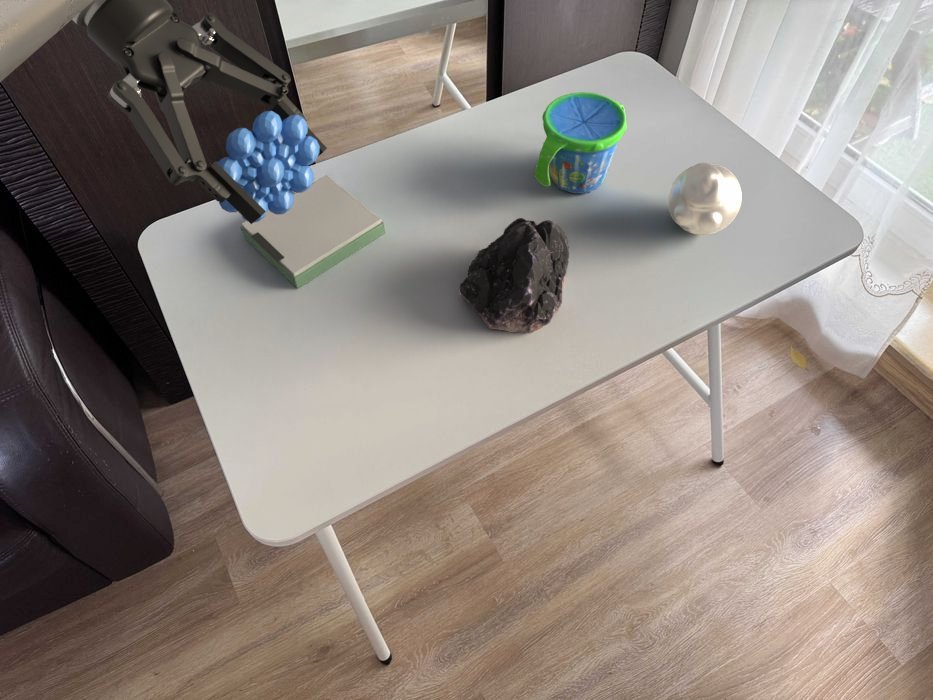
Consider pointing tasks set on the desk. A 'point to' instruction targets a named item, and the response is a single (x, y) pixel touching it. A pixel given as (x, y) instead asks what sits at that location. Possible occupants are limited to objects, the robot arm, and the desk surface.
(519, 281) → the dark rock
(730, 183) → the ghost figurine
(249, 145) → the grapes
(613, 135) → the snack cup
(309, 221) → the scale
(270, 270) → the desk surface
